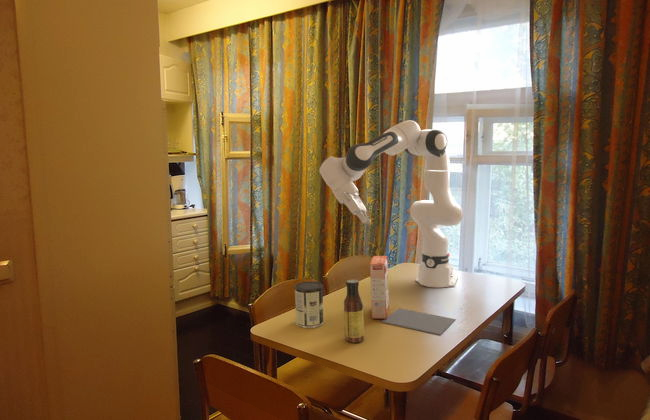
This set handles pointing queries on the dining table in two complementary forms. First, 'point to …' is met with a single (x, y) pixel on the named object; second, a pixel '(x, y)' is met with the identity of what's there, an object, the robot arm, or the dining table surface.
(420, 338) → the dining table surface
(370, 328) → the dining table surface
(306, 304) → the coffee can
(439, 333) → the mat
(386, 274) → the cracker box
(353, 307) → the sauce bottle
